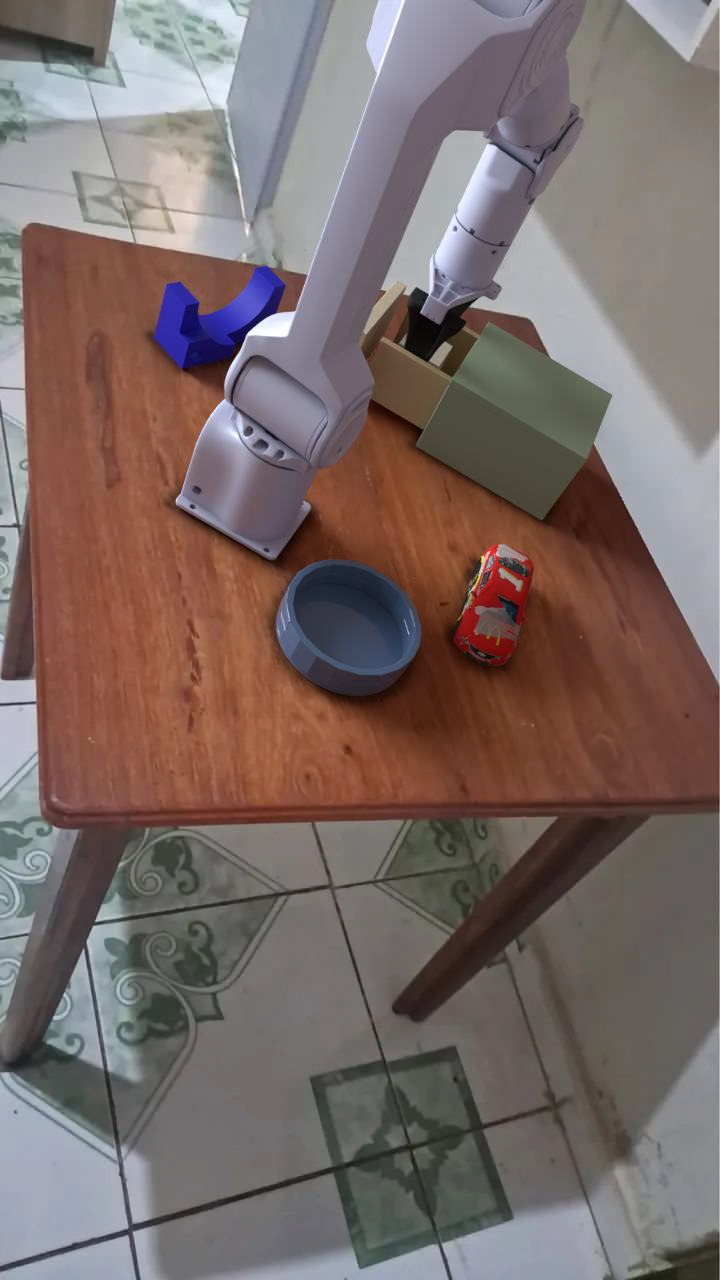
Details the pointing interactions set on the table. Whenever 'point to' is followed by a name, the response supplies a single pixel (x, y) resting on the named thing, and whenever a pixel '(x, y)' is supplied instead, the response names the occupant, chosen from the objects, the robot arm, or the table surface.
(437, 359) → the block
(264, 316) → the cable clip
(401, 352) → the drawer
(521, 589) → the race car
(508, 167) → the robot arm
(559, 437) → the cabinet
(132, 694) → the table surface
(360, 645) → the bowl
